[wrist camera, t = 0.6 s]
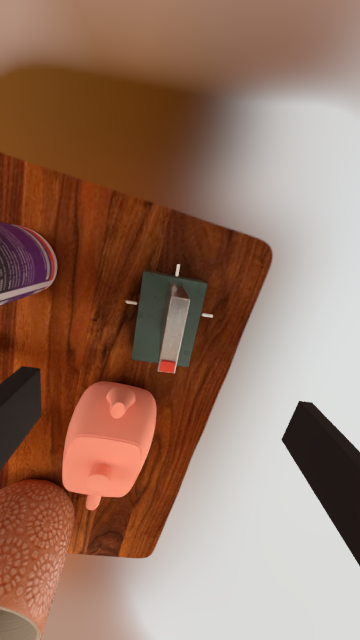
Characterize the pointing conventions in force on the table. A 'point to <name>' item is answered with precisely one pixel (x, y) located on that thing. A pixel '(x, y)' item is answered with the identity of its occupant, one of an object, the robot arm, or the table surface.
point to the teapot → (108, 440)
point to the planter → (31, 554)
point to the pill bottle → (24, 263)
